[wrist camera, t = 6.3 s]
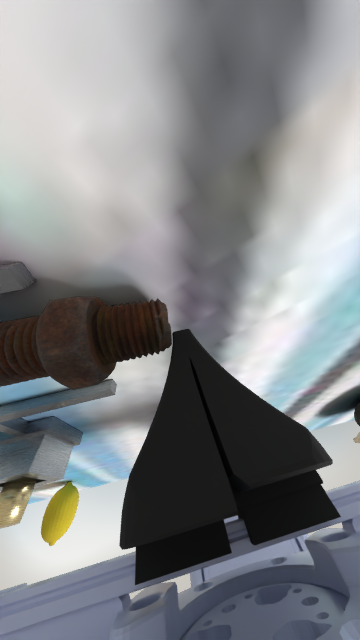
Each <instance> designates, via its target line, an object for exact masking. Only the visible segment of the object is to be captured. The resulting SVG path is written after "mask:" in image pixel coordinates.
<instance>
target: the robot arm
mask: <svg viewBox="0 0 360 640" xmlns="http://www.w3.org/2000/svg"><path fill="white" fill-rule="evenodd" d="M172 335H173V347H172V355H171V362H170V366H169V371H168V376H167V379H166V383H165V387H164V390H163V393H162V397H161V400H160V403H159V406H158V408H157V411H156V414H155V417H154V419H153V422H152V424H151V427H150V429H149V432H148V434H147V437H146V439H145V442H144V444H143V446H142V448H141V451H140V453H139V455H138V457H137V460H136V462H135V464H134V466H133V468H132V471H131V473H130V476H129V480H128V484H127V488H126V493H125V498H124V503H123V509H122V518H121V532H120V547H121V548H122V549H128V548H133V547H136V551H135V552H132V553H129V554H126V555H123V556H119V557H116V558H113V559H110V560H107V561H104V562H100V563H97V564H94V565H91V566H88V567H85V568H81V569H78V570H75V571H72V572H69V573H66V574H62V575H59V576H56V577H53V578H50V579H47V580H44V581H40V582H37V583H34V584H31V585H28V586H27V583H24V584H21V585H17V586H14V587H11V588H8V589H5V590H2V591H0V640H360V481H357V482H353V483H351V484H347V485H344V486H341V487H338V488H334V489H331V490H328V491H325V490H324V489H323V487H322V486H321V484H322V483H323V481H322V479H321V478H320V476H319V474H318V473H317V471H316V470H317V469H320V468H322V467H326V466H329V465H331V464H332V459H331V458H330V456H329V455H328V454H327V452H326V451H325V450H324V448H323V447H322V446H321V444H320V443H319V442H318V441H317V440H316V439H315V437H314V436H313V435H312V434H311V433H310V432H309V430H308V429H307V428H306V427H304V426H303V425H301V424H299V423H298V422H296V421H295V420H293V419H292V418H290V417H288V416H287V415H285V414H284V413H282V412H281V411H279V410H278V409H276V408H275V407H273V406H272V405H270V404H269V403H267V402H266V401H264V400H263V399H261V398H260V397H259V396H257V395H256V394H255V393H253V392H252V391H251V390H249V389H248V388H247V387H245V386H244V385H243V384H241V383H240V382H239V381H238V380H237V379H235V378H234V377H233V376H232V375H231V374H229V373H228V372H227V371H226V370H225V369H224V368H223V367H222V366H220V365H219V364H218V363H217V362H216V361H215V360H214V359H213V358H212V357H211V356H210V355H209V353H208V352H207V351H206V350H205V349H204V348H203V347H202V346H201V344H200V343H199V342H198V341H197V339H196V338H195V337H194V335H193V334H192V332H191V331H190V330H189V329H185V330H180V331H176V332H173V333H172ZM340 522H342V525H343V529H337V528H328V529H322V528H325V527H328V526H331V525H334V524H337V523H340ZM320 529H322V530H320ZM316 530H319V531H317V532H315V533H314V534H312V535H311V536H309V535H308V533H310V532H314V531H316ZM188 573H190V579H191V588H189V589H187V590H185V591H183V592H181V593H177V585H176V583H175V582H169V583H161V582H164V581H167V580H170V579H173V578H176V577H179V576H182V575H185V574H188ZM146 587H147V588H146ZM143 588H145V589H144V590H143V591H141V592H140V593H139V594H138V595H136V596H135V597H134V598H133V599H132V600H131V599H130V596H129V593H131V592H134V591H137V590H140V589H143Z"/></svg>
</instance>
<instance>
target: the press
mask: <svg viewBox="0 0 360 640" xmlns="http://www.w3.org/2000/svg"><path fill="white" fill-rule="evenodd" d="M35 281H36V280H35V279H34V277H33V276H32V275H31V274H30V272H29V271H28V270H27V268H26V267H25V266H24V265H23V263H22V262H18V263H13V264H7V265H1V266H0V293H5V292H11V291H16V290H21V289H25V288H26V287H28V286H29V285H31V284H32V283H34V282H35ZM116 386H117V384H116V383H115V382H114V381H113V379H112V380H108V381H104V382H101V383H100V384H98V385H94V386H90V387H85V388H81V389H76V390H73V389H70V390H65V391H61V392H57V393H53V394H49V395H44V396H40V397H36V398H32V399H27V400H23V401H19V402H15V403H10V404H6V405H2V406H0V491H1V490H2V488H3V486H4V484H5V482H8V481H12V480H16V479H20V478H23V477H28V478H35V479H37V481H36V484H35V486H39V485H42V484H46V483H49V482H53V481H57V480H60V479H63V477H64V474H65V471H66V468H67V464H68V461H69V458H70V454H71V451H72V448H73V446H75V445H79V444H80V442H81V438H82V435H83V433H82V432H80V431H79V430H77V429H75V428H73V427H72V426H70V425H68V424H66V423H65V422H63V421H61V420H59V419H58V418H56V417H54V416H53V417H49V418H45V419H41V420H36V421H32V422H28V421H26V420H24V419H22V418H21V417H25V416H29V415H33V414H37V413H41V412H46V411H50V410H54V409H58V408H62V407H66V406H70V405H74V404H78V403H83V402H87V401H91V400H95V399H99V398H103V397H107V396H111V395H115V392H116ZM35 486H34V487H35Z"/></svg>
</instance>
